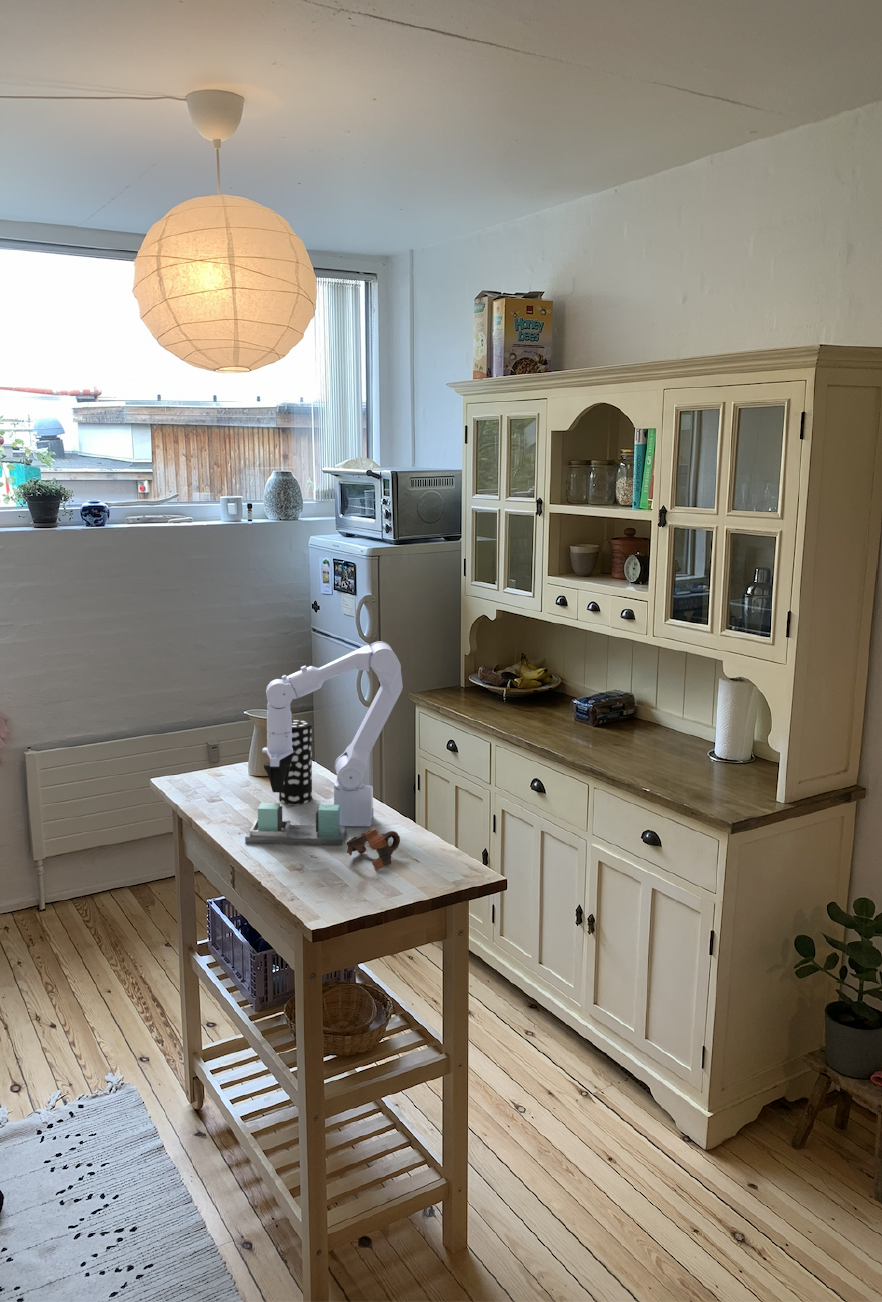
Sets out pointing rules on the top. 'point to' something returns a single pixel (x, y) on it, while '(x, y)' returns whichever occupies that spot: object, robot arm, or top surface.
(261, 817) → the pale aqua cube
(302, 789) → the white-spotted black cylinder
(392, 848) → the brown looped piece
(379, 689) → the robot arm
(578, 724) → the top surface
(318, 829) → the grey long flat piece
